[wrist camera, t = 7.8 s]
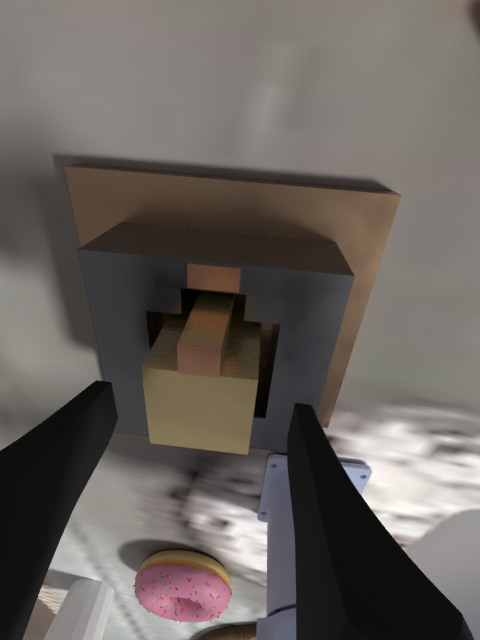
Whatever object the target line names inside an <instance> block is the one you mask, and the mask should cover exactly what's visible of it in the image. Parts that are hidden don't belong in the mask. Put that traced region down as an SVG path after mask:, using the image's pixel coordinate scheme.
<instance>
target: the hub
mask: <svg viewBox="0 0 480 640" xmlns="http://www.w3.org/2000/svg"><path fill="white" fill-rule="evenodd" d="M64 169H65V174H66V179H67V184H68V189H69V194H70V199H71V204H72V209H73V214H74V219H75V224H76V228H77V233H78V238H79V243H80V248H79V249H78V253H79V258H80V263H81V267H82V272H83V277H84V282H85V287H86V292H87V296H88V301H89V306H90V311H91V316H92V321H93V325H94V330H95V335H96V340H97V345H98V350H99V354H100V359H101V364H102V369H103V374H104V379H105V382H111V383H112V388H113V393H114V399H115V404H116V409H117V414H118V420H117V423H116V426H115V432H119V433H127V434H136V435H144V436H149V430H148V422H147V413H146V404H145V396H144V387H143V378H142V370H141V367H142V365H143V363H144V361H145V359H146V357H147V356H148V354H149V352H150V350H151V348H152V346H153V344H154V343H155V341H156V339H157V337H158V335H159V333H160V332H161V330H162V328H163V326H164V324H165V322H166V321H167V319H168V317H169V315H170V313H173V314H182V312H183V310H184V308H185V306H186V304H187V302H188V300H189V298H190V296H191V293H192V291H193V289H194V290H204V291H214V292H224V293H235V294H245V295H246V304H245V316H244V321H251V322H261V337H260V356H259V376H258V386H257V393H256V400H255V408H254V415H253V422H252V429H251V436H250V443H249V448H256V449H264V450H273V451H281V452H287V437H288V432H289V428H290V423H291V419H292V414H293V410H294V405H295V403H301V404H310V405H312V406H313V408H314V411H315V413H316V415H317V418H318V420H319V422H320V424H321V426H322V427H325V428H328V425H329V422H330V419H331V416H332V412H333V409H334V406H335V403H336V400H337V397H338V393H339V390H340V387H341V384H342V381H343V378H344V374H345V371H346V368H347V365H348V362H349V359H350V356H351V352H352V349H353V346H354V343H355V340H356V337H357V333H358V330H359V327H360V324H361V321H362V318H363V314H364V311H365V308H366V305H367V302H368V299H369V296H370V292H371V289H372V286H373V283H374V280H375V277H376V273H377V270H378V267H379V264H380V261H381V258H382V254H383V251H384V248H385V245H386V242H387V239H388V235H389V232H390V229H391V226H392V223H393V220H394V217H395V213H396V210H397V207H398V204H399V201H400V198H401V195H400V194H398V193H396V192H394V191H384V190H372V189H361V188H349V187H338V186H326V185H314V184H303V183H291V182H279V181H268V180H256V179H245V178H233V177H221V176H210V175H198V174H186V173H175V172H163V171H152V170H140V169H128V168H117V167H105V166H93V165H82V164H73V165H67V166H64Z"/></svg>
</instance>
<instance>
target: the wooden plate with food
mask: <svg viewBox="0 0 480 640" xmlns="http://www.w3.org/2000/svg"><path fill="white" fill-rule="evenodd" d="M256 635H257V625H242V626H233V627H227V628H222V629H218V630H215V631H212V632H209V633H207V634H205V635H204V636H202V637H201V638H200V639H199V640H250V639H251V638H253V637H256Z"/></svg>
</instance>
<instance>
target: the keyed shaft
mask: <svg viewBox="0 0 480 640" xmlns="http://www.w3.org/2000/svg"><path fill="white" fill-rule="evenodd" d="M245 304H246V295H245V294H235V293H224V292H214V291H204V290H194V289H193V291H192V293H191V296H190V298H189V300H188V302H187V304H186V306H185V308H184V310H183V312H182V314H173V313H170V315H169V317H168V319H167V321H166V322H165V324H164V326H163V328H162V330H161V332H160V333H159V335H158V337H157V339H156V341H155V343H154V344H153V346H152V348H151V350H150V352H149V354H148V356H147V357H146V359H145V361H144V363H143V365H142V367H141V370H142V378H143V387H144V396H145V404H146V413H147V422H148V430H149V439H150V443H153V444H162V445H170V446H178V447H186V448H195V449H203V450H211V451H219V452H228V453H236V454H244V455H248V451H249V443H250V436H251V429H252V422H253V415H254V408H255V400H256V393H257V386H258V376H259V356H260V337H261V322H251V321H244V316H245Z"/></svg>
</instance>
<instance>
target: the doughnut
mask: <svg viewBox="0 0 480 640" xmlns="http://www.w3.org/2000/svg"><path fill="white" fill-rule="evenodd" d="M230 585H231V584H230V578H229V575H228V573H227V572H226V570H225V569H224V567H223V566H222V565H221V564H220V563H218V562H217V561H216V560H214V559H212V558H210V557H208V556H206V555H203V554H200V553H197V552H193V551H187V550H166V551H161V552H158V553H156V554H154V555H152V556H150V557H149V558H148V559H146V560H145V561H144V563H143V564H142V566H141V568H140V572H138V573H137V575H136V578H135V585H133V587H134V586H135V588H134V589H135V593H136V594H135V595H136V598H137V599H138V601H139V602H140V603H139V604H141V605H142V606H143V607H144V608H145V609H147V610H148V612H149V611H150V612H152V613H153V614H155V615H158V617H163V618H166V619H170V620H175V621H180V623H181V622H203V621H208V620H210V621H211V620H212V619H214V618H216V617H217V618H218V617H219V615H220V614H222V613H223V611H224V610H225V609H226V607H227V609H228V606H227V605H228V603H229V601H230V597H231V594H232V593H231V589H230Z"/></svg>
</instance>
